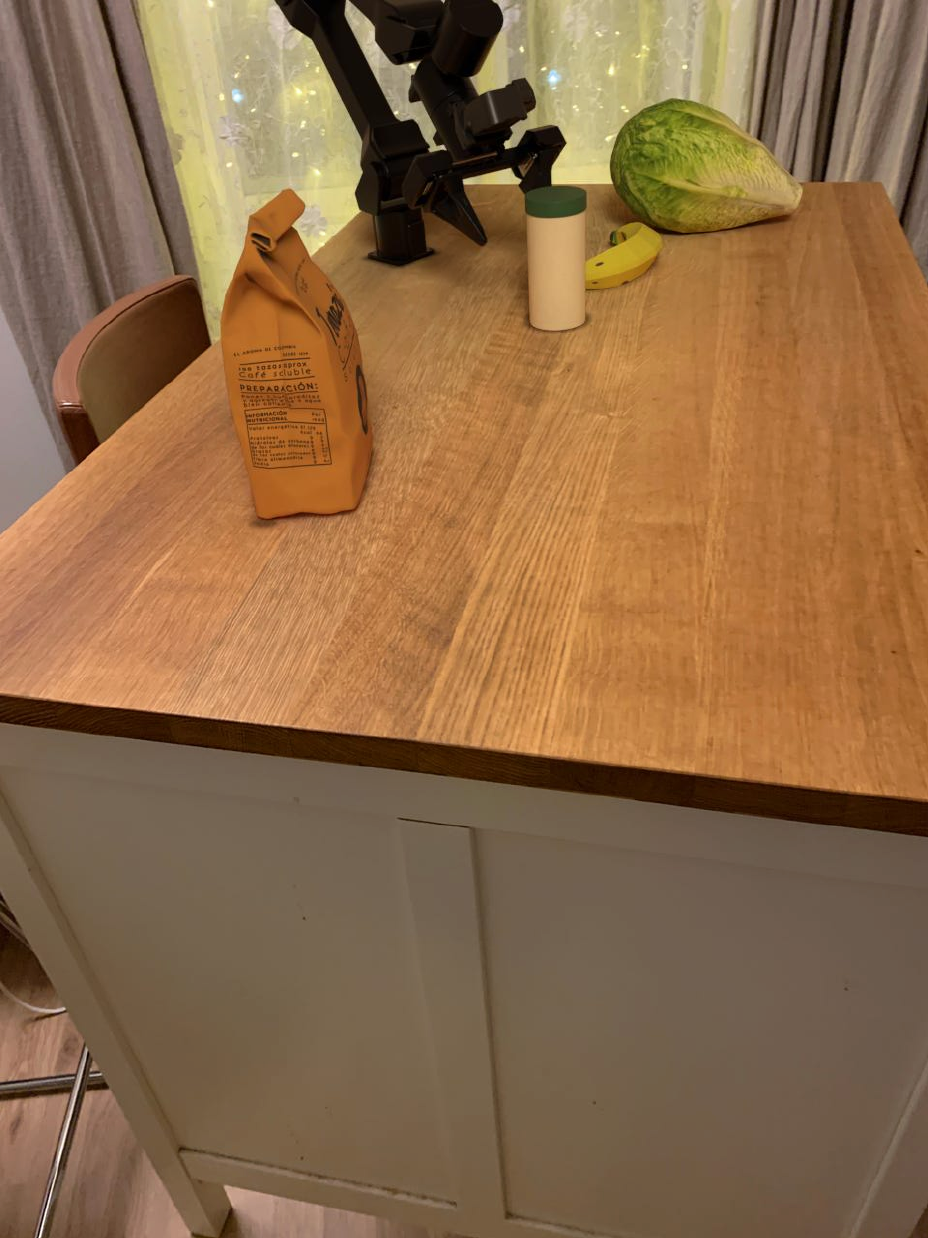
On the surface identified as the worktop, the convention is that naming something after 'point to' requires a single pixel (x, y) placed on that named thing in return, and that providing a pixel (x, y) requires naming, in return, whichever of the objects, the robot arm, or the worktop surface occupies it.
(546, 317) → the cheese shaker
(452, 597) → the worktop surface
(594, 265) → the banana
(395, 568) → the worktop surface
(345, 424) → the coffee package
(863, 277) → the worktop surface
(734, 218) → the lettuce
